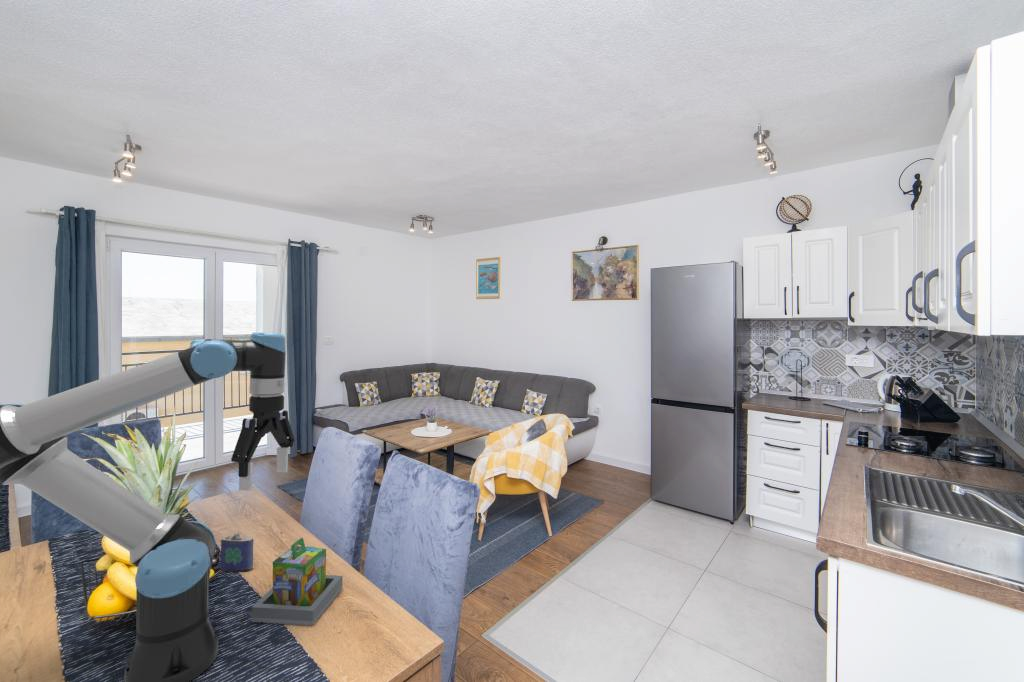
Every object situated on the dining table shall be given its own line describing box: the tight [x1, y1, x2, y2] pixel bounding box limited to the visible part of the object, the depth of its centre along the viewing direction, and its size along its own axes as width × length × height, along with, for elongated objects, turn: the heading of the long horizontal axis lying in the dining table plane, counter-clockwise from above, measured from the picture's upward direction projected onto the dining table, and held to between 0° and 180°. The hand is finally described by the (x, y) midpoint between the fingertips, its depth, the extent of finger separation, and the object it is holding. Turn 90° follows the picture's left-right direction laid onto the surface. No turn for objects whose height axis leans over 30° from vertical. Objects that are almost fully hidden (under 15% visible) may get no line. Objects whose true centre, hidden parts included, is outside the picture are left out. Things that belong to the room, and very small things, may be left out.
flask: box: [220, 531, 254, 573], centre depth 126 cm, size 9×3×11 cm, turn 88°
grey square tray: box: [250, 574, 343, 627], centre depth 110 cm, size 15×15×4 cm
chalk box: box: [272, 537, 327, 607], centre depth 110 cm, size 9×9×15 cm
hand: (264, 480), depth 109 cm, fingers open, 13 cm apart
